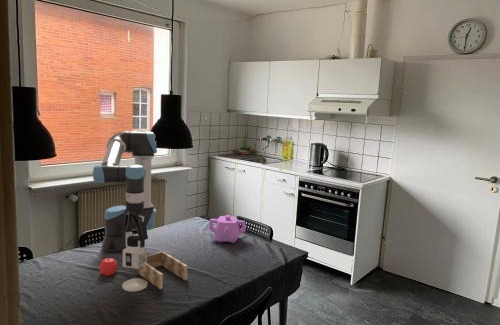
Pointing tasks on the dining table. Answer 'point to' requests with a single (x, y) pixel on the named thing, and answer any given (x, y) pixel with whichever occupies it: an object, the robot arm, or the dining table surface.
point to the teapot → (227, 228)
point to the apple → (108, 266)
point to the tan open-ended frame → (167, 262)
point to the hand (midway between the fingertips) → (134, 249)
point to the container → (133, 253)
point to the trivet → (134, 285)
